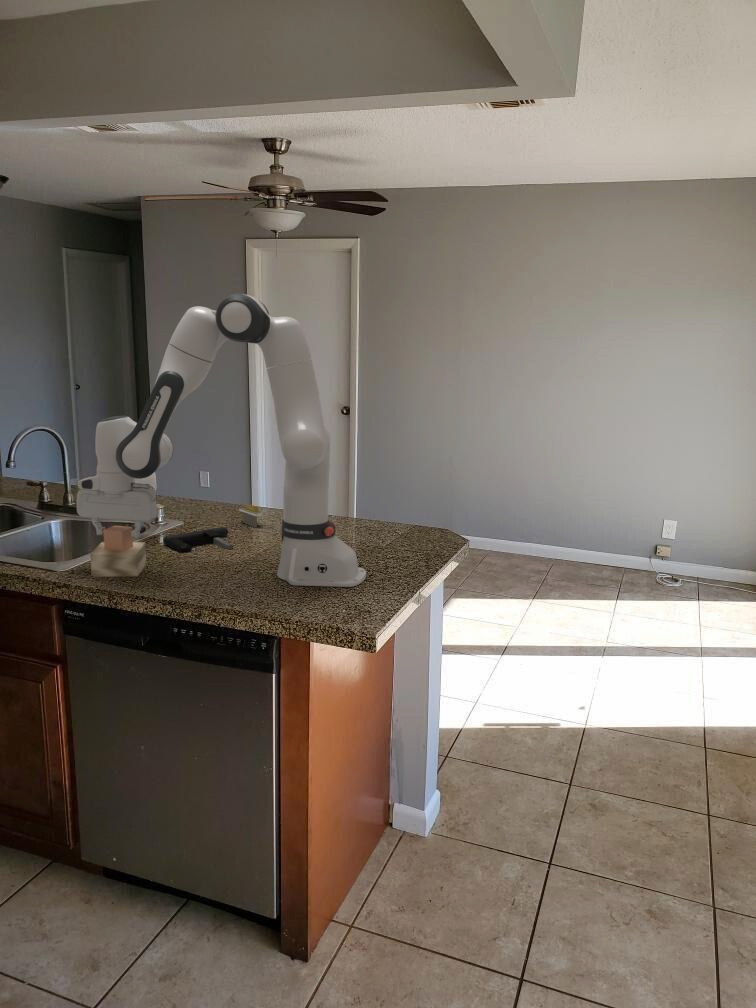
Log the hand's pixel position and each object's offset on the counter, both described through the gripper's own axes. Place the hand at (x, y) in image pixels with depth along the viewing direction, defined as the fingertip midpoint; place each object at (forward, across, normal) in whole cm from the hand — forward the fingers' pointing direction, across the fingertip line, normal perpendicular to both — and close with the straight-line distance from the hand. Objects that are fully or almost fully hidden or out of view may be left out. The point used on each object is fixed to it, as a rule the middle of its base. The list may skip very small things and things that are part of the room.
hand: (118, 536), depth 196 cm
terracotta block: (+3, 0, 0) cm, 3 cm away
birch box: (+9, 0, 0) cm, 9 cm away
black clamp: (+10, -10, -29) cm, 32 cm away
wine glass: (+9, +9, -31) cm, 34 cm away
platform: (+9, -15, -56) cm, 58 cm away
